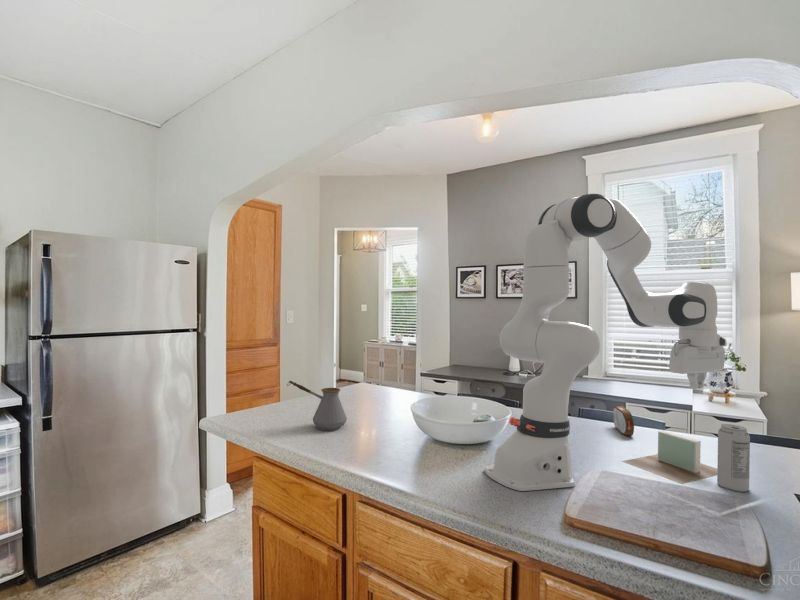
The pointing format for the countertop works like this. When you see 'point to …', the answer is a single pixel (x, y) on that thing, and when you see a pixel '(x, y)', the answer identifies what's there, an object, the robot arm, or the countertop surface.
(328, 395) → the coffee pot
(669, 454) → the tile
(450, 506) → the countertop surface
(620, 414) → the tin
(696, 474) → the board
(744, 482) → the energy drink can
